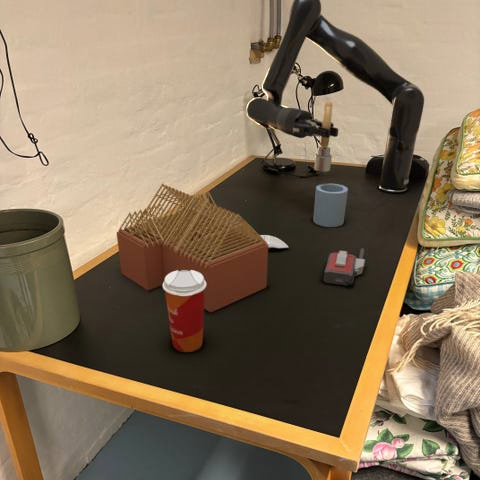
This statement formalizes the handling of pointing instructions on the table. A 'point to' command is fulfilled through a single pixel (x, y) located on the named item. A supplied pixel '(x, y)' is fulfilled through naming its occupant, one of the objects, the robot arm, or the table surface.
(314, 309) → the table surface
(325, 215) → the jar
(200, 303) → the paper cup
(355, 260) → the walkie-talkie
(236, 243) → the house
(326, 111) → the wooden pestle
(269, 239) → the pincushion
